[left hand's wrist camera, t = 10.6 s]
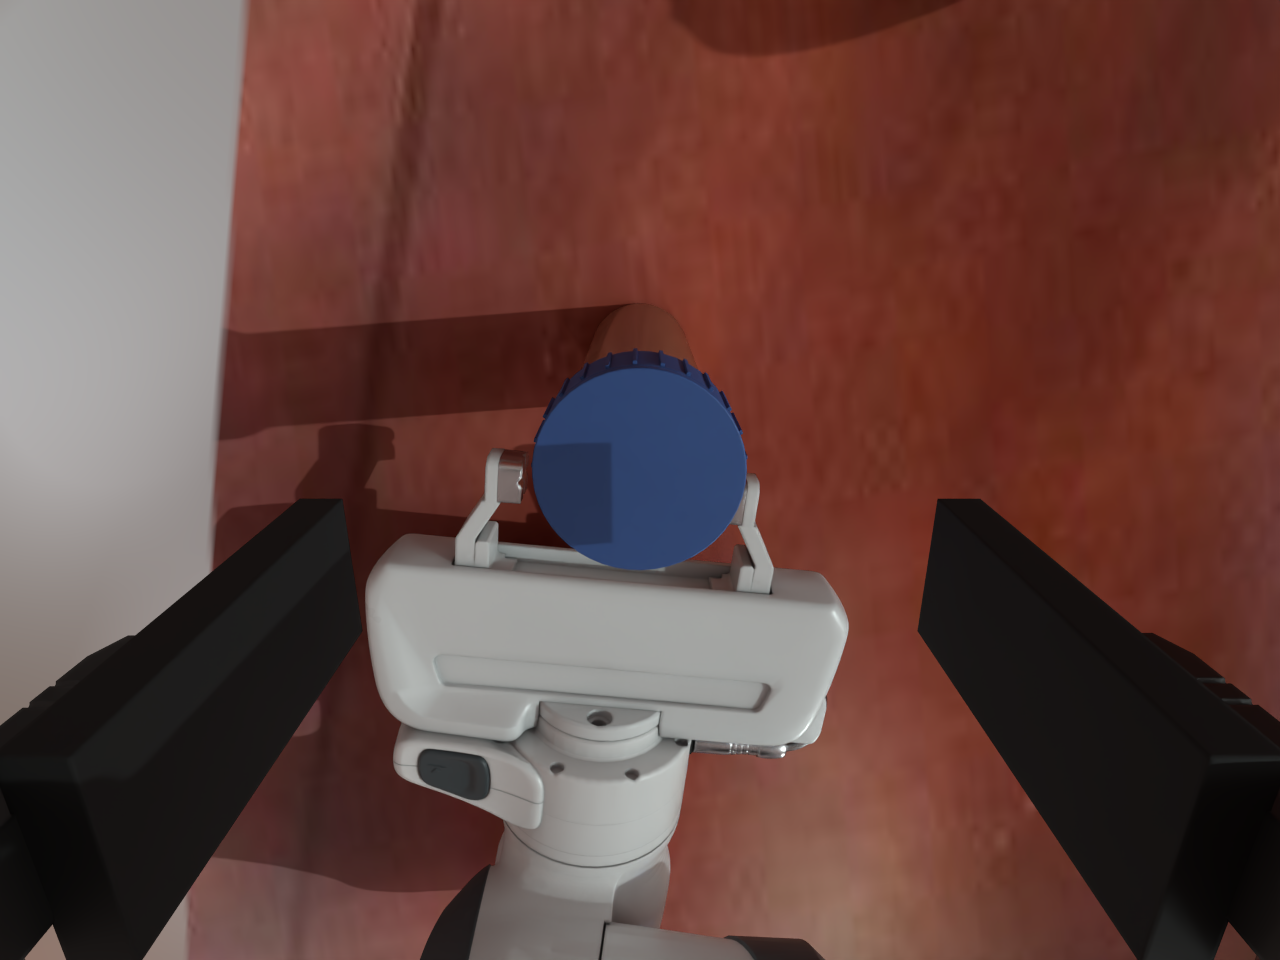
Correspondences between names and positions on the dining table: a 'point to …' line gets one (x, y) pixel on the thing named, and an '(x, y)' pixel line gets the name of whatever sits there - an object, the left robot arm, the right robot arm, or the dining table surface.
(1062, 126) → the dining table surface
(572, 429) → the lid
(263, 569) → the left robot arm
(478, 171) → the dining table surface
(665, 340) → the jar
